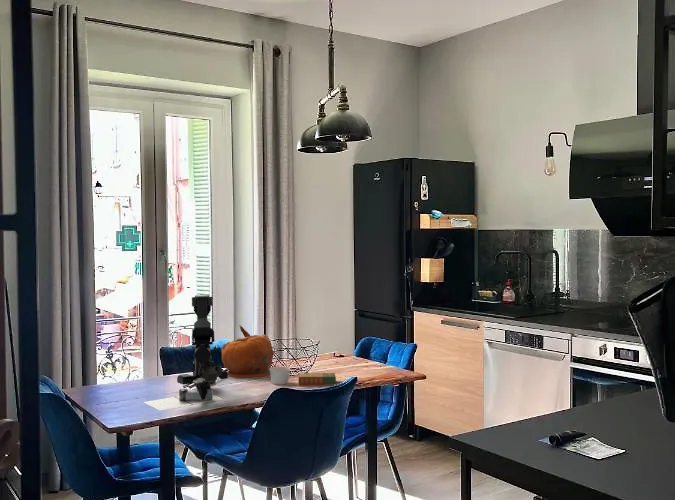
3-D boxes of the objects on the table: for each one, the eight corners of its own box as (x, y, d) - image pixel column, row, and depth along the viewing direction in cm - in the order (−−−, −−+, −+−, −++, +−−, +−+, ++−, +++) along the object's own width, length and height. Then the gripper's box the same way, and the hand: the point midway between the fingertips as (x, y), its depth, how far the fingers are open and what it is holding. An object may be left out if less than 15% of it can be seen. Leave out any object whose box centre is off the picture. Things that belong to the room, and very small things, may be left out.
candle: (265, 384, 292) (265, 369, 292) (275, 380, 301) (275, 366, 301) (284, 386, 289) (284, 371, 289) (293, 381, 297) (293, 367, 297)
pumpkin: (213, 373, 317) (213, 325, 316) (257, 366, 333) (257, 320, 333) (241, 380, 300) (240, 330, 300) (286, 372, 317) (285, 324, 316)
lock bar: (178, 401, 259) (178, 390, 259) (180, 399, 262) (179, 388, 262) (211, 400, 260) (211, 390, 259) (212, 398, 263) (212, 388, 263)
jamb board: (142, 404, 259) (142, 401, 259) (204, 394, 275) (204, 391, 275) (159, 413, 246) (159, 410, 246) (223, 401, 262) (223, 398, 262)
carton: (298, 382, 297) (298, 372, 297) (335, 381, 298) (335, 372, 298) (298, 386, 289) (298, 376, 288) (336, 386, 290) (336, 375, 290)
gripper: (189, 364, 246) (189, 407, 246) (234, 358, 257) (235, 399, 257) (176, 360, 254) (176, 401, 255) (220, 354, 266) (221, 394, 266)
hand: (203, 399), depth 258 cm, fingers closed
